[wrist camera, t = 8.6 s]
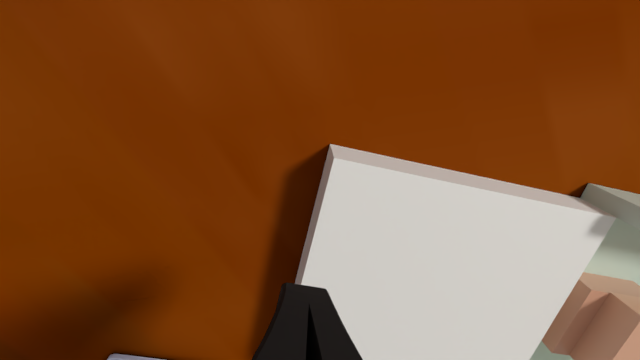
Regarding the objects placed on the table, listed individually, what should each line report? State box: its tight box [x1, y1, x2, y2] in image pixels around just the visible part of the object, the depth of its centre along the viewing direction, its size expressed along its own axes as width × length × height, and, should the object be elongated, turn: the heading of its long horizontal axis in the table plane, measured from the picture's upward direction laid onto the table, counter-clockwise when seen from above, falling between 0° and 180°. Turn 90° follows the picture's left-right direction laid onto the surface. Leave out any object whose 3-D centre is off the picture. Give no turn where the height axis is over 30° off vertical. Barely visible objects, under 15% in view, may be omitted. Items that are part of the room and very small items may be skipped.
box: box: [530, 183, 640, 360], centre depth 21 cm, size 16×13×4 cm
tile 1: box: [541, 272, 640, 355], centre depth 22 cm, size 5×5×2 cm
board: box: [295, 144, 616, 360], centre depth 20 cm, size 14×16×2 cm
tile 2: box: [569, 292, 640, 360], centre depth 20 cm, size 5×5×2 cm
